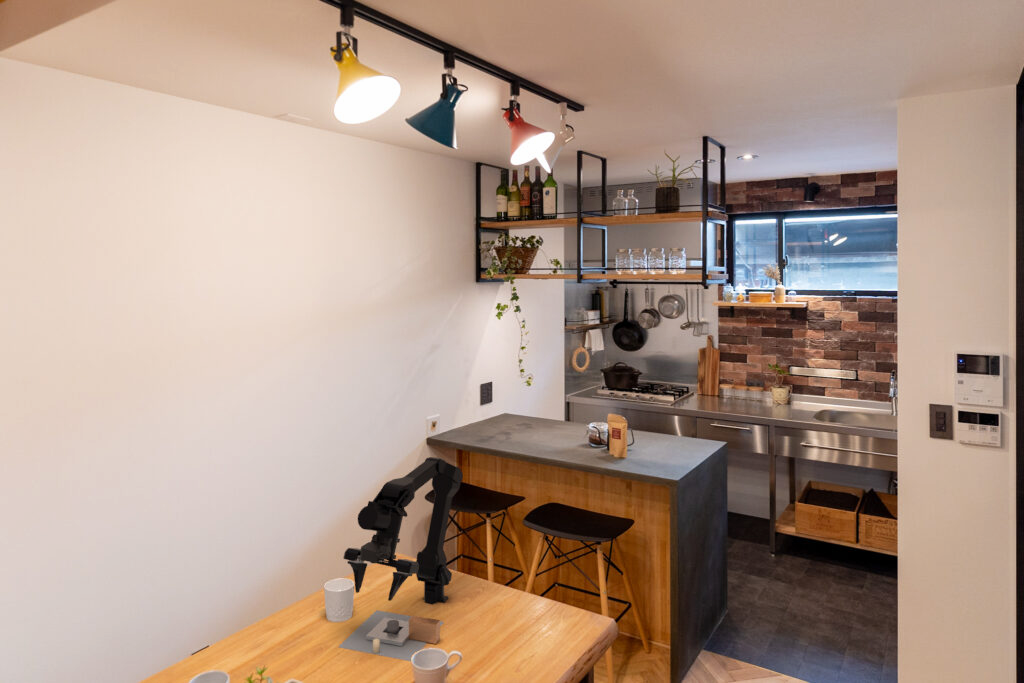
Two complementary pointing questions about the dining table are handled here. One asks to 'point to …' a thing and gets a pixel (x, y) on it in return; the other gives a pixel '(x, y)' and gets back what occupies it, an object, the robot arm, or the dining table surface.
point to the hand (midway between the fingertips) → (373, 596)
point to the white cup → (339, 599)
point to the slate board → (384, 647)
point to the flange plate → (407, 631)
